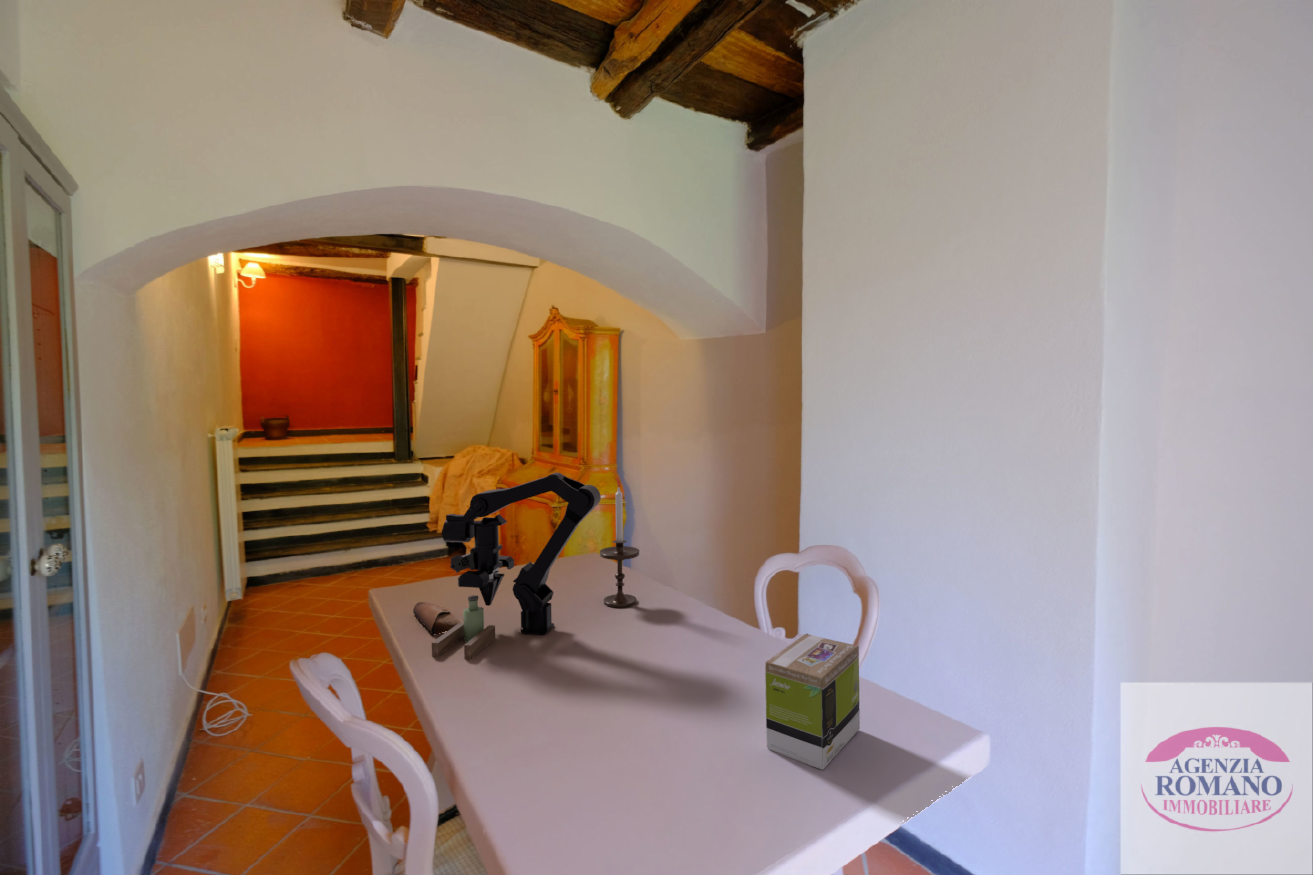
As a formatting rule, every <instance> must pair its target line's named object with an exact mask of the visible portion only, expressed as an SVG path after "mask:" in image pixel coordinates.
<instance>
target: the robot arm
mask: <svg viewBox="0 0 1313 875" xmlns="http://www.w3.org/2000/svg"><path fill="white" fill-rule="evenodd" d="M549 492H552V493H554V494H555V495H556V496H558V497H559V498H561V499H562V500H563V501H565V502H567V505H566V508H565V513H564V516H563V518H562V520H561V521H560V522H559V524H558V525H557V527H556V529H555V530H554V532H553V534H551V537H550V538H549V540H548V541H547V542H546V545H544V547H543V549H542V550H541V552H540V554H539V555H538V556H537V558H536V560H535V561H534V563H532V562H531V561H529V562H528V563H526V564H525V565H524V566H522V567H521V569H520V571H519V573H518V575H517V577H516V578H515V579H514V580H512V582H513V583H514V584H513V586H512V593H513V596H514V597H515V598H516V600H518V603H519V606H520V608H521V611H520V628H521V629H520V631H519V632H520V634H528V635H529V634H531V635H542V636H543V635H544V636H545V635H547V634H548V633H549V632H550V631H551V629H552V628H554V627H555V623H553V622H552V618H553V617H552V603H551V602H550V601H551V600H552V598H553V595H554V594H555V593H554V591H553V589H551V588H550V586H548V585H547V582H548V581H547V580H548V578H549V574H550V570H551V568H552V566H553V565H554V563H555V562H556V560H557V559H558V557H559V556H560V554H561V553H562V551H563V550H564V548H565V546H566V545H567V543H568V542H569V540H570V539H571V538H572V536H573V534H574V532H575V531H576V530H577V529H578V527H579V526H580V525H579V524H580V523H581V522H582V521H583V520H584V519H585V518H587V517H588V515H590V514H591V513H592V511H594V509H595V508H596V507H597V506H598V505H599V504H600V503H601V498H602V496H601V492H600V491H599V489H598V488H597V487H596V486H595V485H592V484H585V483H582V482H581V481H578V480H575V479H573V478H570V477H568V476H566V475H565V474H562V473H561V472H554V473H551V474H548V475H547V476H544V477H540V478H538V479H534V480H532V481H528V482H524V483H521V484H519V485H516V486H513V487H509V488H508V487H507V488H496V489H488V490H485V491H483V492H482V491H481V492H480V493H477V494H474V495H473V496H472V497H471V499H470V502H469V507H468V509H467V510H466V511H465V513H464V514H456V513H449V514H446V515H445V521H444V523H443V526H442V529H441V536H442V540H443V541H444V542H446V543H448V542H449V543H469V542H470V541H472V539H474V547H472V548H471V549H470V551H469V552H470V553H466V554H464V555H461V554H460V553H459V554H457V555H454V556H452V557H451V558H450V562H449V563H450V565H449V568H450V569H452V571H455V573H456V574H458V573H460V572H461V571H463V570H466V569H469V570H467V571H465V572H464V573H461V574H460V576H458V577H457V586H458V587H459V588H475V589H476V588H477V589H479V591H480V594H481V596H482V599H483V602H484V604H485V606H487V607H489V606H491V605H492V604H493V601H494V599H495V597H496V594H497V591H498V589H499V587H500V585H501V583H502V581H503V578H504V577H505V574H506V573H500V571H499V569H500V568H503V567H506V569H507V570H511V569H513V568H514V567H515V559H514V558H513V557H512V556H511V555H500V551H501V550H503V545H502V544H500V542H499V538H500V536H499V532H500V531H499V527H500V526H503V525H505V524H507V522H508V520H507V519H506V518H504V517H503V516H502V515H501V514H500V513H499V514H497V515H495V516H494V517H487V516H490V515H492V514H495V513H496V512H498V511H500V510H502V509H503V508H505V507H508V506H509V505H511V504H514V503H517V502H520V501H524V500H526V499H530V498H533V497H537V496H539V495H542V494H545V493H549ZM479 518H482V519H481V520H476V519H479Z"/></svg>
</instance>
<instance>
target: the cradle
mask: <svg viewBox="0 0 1313 875" xmlns="http://www.w3.org/2000/svg"><path fill="white" fill-rule="evenodd" d="M462 639H464V622H460V623H458V624H457V625H456V626H454V627H453V628H451V629H450V630H449V631H447V632H446V633H443V634H441V635H440V636H439V637H437V638H436V639H434V640H433V641H432V642H431V656H432V657H440V656H441V655H442V654H444V653H445V652H447V651H448V650H449V649H450V648H451V647H453V646H454V645H455V644H456V643H458V642H460V641H461V640H462ZM495 639H496V625H495V624H488V625H487V626H486V627H484V630H482V631H481V632H480V633H479V634H477V635H476V636H475V637H473V638H472V639H471V640H470V641H468V642H465V644H464V645H463V650H464V652H463V654H464V655H463V656H464V659H466V660H471V659H473V658H474V657H475V656H476V655H478V654H479V653H480V652H481V651H482V650H483V649H485V648H486V645H487V644H488V645H490V643H491V642H492V641H494V640H495ZM457 641H458V642H457ZM453 644H454V645H453ZM452 645H453V646H452ZM488 645H487V646H488Z"/></svg>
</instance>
